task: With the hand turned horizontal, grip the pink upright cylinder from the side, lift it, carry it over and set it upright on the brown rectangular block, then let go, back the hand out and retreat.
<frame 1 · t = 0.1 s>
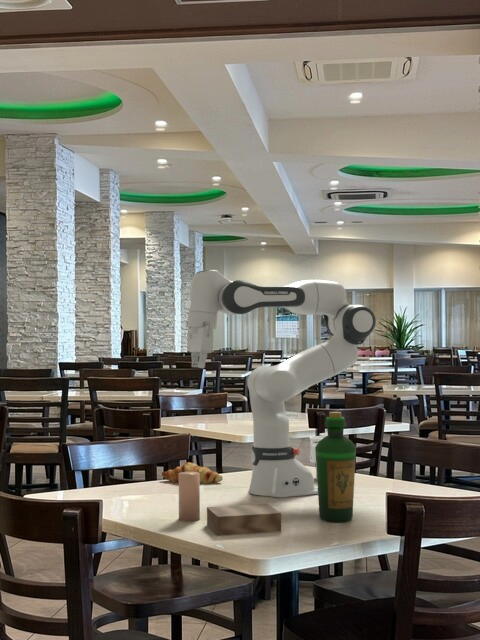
hand: (198, 367, 246), 39 cm above the table, tool pointing down, fingers open, 8 cm apart
pink upright cylinder: (189, 519, 214), on the table
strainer: (320, 478, 278), on the table
brown rectangular block: (243, 528, 203), on the table
bottle: (336, 520, 213), on the table
croissant: (191, 483, 270), on the table
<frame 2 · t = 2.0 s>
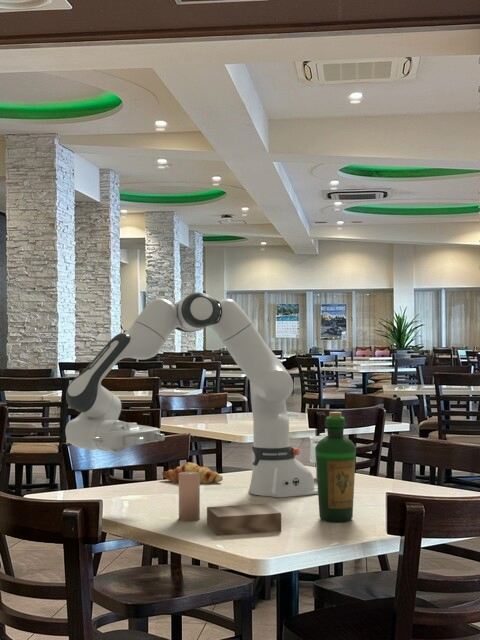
hand: (152, 439, 221), 20 cm above the table, tool horizontal, fingers open, 8 cm apart
nothing on the table moved.
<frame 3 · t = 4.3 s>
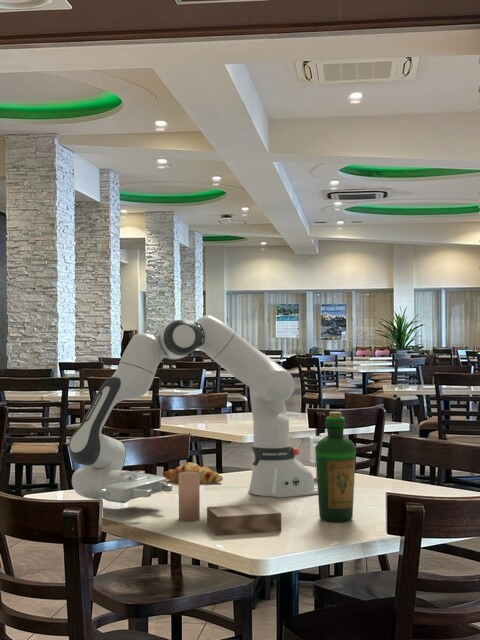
hand: (160, 491, 219), 6 cm above the table, tool horizontal, fingers open, 8 cm apart
nothing on the table moved.
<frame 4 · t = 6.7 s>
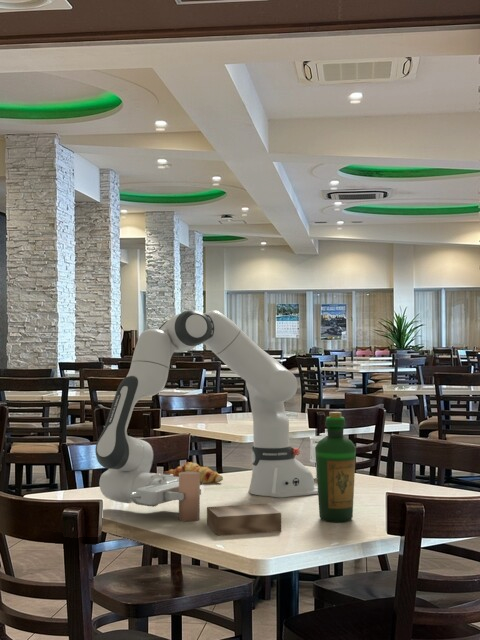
hand: (191, 494, 214), 7 cm above the table, tool horizontal, fingers closed on pink upright cylinder, 5 cm apart
pink upright cylinder: (189, 518, 214), on the table, touching gripper
everything else where it was.
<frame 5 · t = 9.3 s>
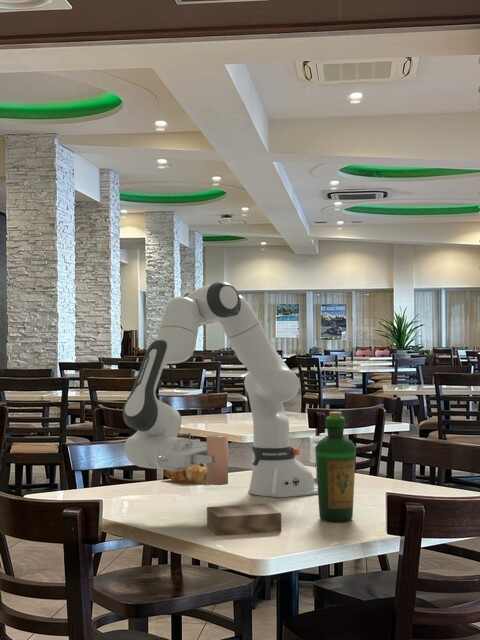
hand: (220, 458, 208), 17 cm above the table, tool horizontal, fingers closed on pink upright cylinder, 5 cm apart
pink upright cylinder: (217, 483, 208), point 10 cm above the table, touching gripper
everything else where it was.
when the fingers open (12 cm above the table, at t = 12.0 s): pink upright cylinder stays where it is, resting on brown rectangular block.
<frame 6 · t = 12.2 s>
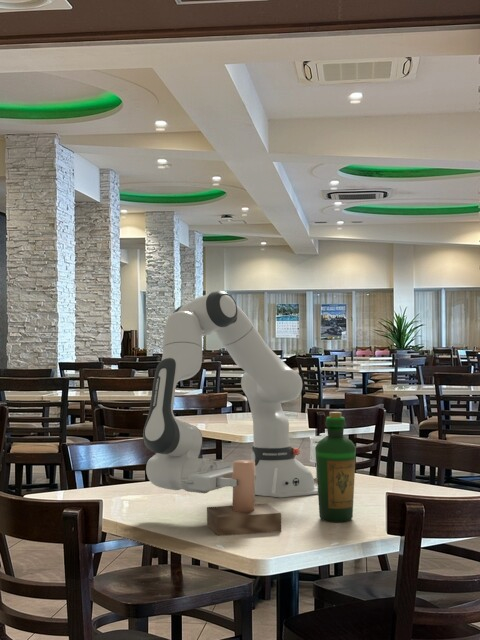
hand: (246, 480, 203), 12 cm above the table, tool horizontal, fingers open, 7 cm apart
pink upright cylinder: (243, 509, 203), point 5 cm above the table, touching brown rectangular block
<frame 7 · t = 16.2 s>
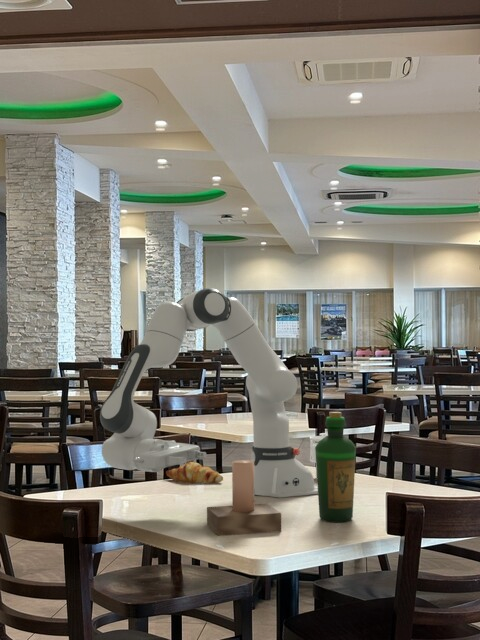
hand: (194, 458, 213), 16 cm above the table, tool horizontal, fingers open, 8 cm apart
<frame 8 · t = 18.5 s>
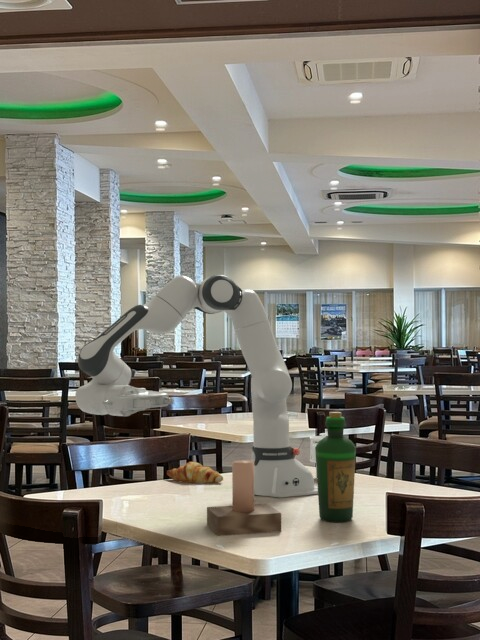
hand: (161, 402, 224), 30 cm above the table, tool horizontal, fingers open, 8 cm apart
at the end: pink upright cylinder inside the target area on the brown rectangular block (0.0 cm from its centre), point 4.5 cm above the brown rectangular block's base; pink upright cylinder tilted 0°; the gripper is holding nothing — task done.
